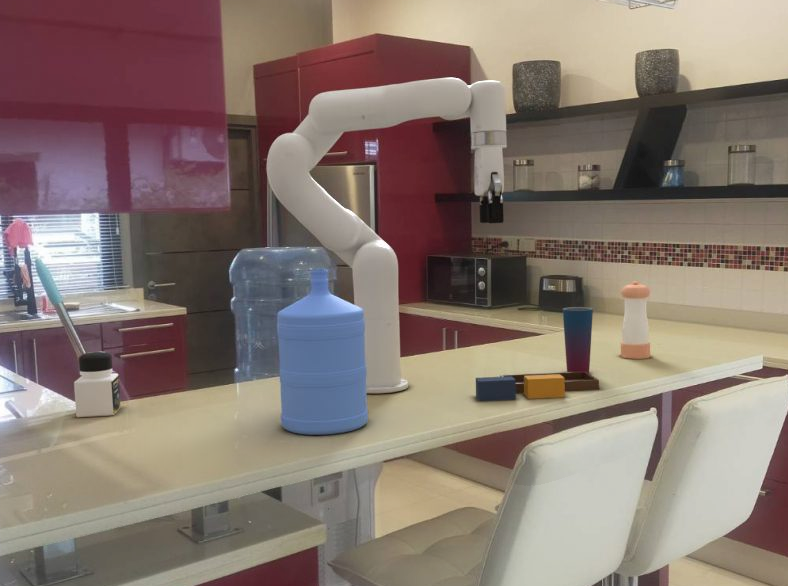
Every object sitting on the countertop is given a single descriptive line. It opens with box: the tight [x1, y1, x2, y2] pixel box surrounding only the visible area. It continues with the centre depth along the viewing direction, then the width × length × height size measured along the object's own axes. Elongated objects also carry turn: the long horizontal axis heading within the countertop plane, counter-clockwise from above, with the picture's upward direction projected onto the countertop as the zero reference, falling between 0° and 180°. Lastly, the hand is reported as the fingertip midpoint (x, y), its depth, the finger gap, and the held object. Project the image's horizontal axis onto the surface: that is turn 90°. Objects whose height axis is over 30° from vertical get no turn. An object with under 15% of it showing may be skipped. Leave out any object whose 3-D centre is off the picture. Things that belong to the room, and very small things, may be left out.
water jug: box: [276, 269, 369, 436], centre depth 154 cm, size 16×16×28 cm
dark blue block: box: [475, 376, 517, 402], centre depth 174 cm, size 8×4×4 cm, turn 95°
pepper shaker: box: [620, 280, 651, 360], centre depth 218 cm, size 7×7×19 cm
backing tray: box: [499, 371, 600, 394], centre depth 185 cm, size 19×10×2 cm, turn 95°
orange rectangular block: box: [523, 374, 566, 400], centre depth 175 cm, size 8×4×4 cm, turn 95°
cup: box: [562, 306, 594, 374], centre depth 198 cm, size 7×7×15 cm
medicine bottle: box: [73, 351, 122, 418], centre depth 170 cm, size 7×7×12 cm
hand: (491, 222), depth 184 cm, fingers open, 9 cm apart
